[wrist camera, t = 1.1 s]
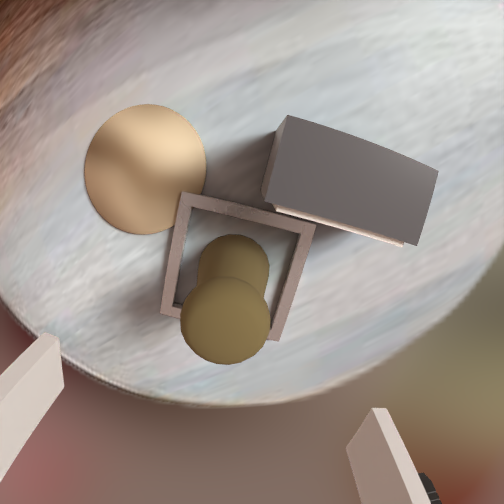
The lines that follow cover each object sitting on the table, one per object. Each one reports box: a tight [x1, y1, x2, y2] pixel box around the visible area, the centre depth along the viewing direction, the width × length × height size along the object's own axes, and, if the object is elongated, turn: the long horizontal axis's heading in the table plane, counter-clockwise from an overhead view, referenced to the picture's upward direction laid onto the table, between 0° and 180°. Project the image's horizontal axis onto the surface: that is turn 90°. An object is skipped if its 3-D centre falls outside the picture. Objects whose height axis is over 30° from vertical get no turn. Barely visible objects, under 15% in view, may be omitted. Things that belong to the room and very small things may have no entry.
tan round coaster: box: [85, 104, 206, 234], centre depth 24 cm, size 11×11×1 cm
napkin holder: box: [261, 115, 438, 247], centre depth 21 cm, size 5×10×8 cm, turn 76°
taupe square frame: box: [160, 191, 316, 341], centre depth 26 cm, size 11×11×1 cm
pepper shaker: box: [180, 234, 271, 365], centre depth 21 cm, size 6×6×11 cm
